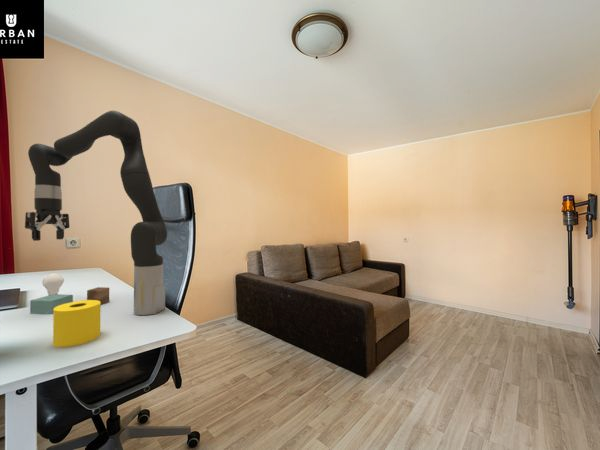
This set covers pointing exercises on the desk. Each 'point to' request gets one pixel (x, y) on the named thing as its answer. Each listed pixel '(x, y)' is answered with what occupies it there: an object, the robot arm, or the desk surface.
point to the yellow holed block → (76, 323)
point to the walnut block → (99, 294)
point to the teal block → (48, 303)
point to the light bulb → (53, 283)
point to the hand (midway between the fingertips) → (48, 239)
